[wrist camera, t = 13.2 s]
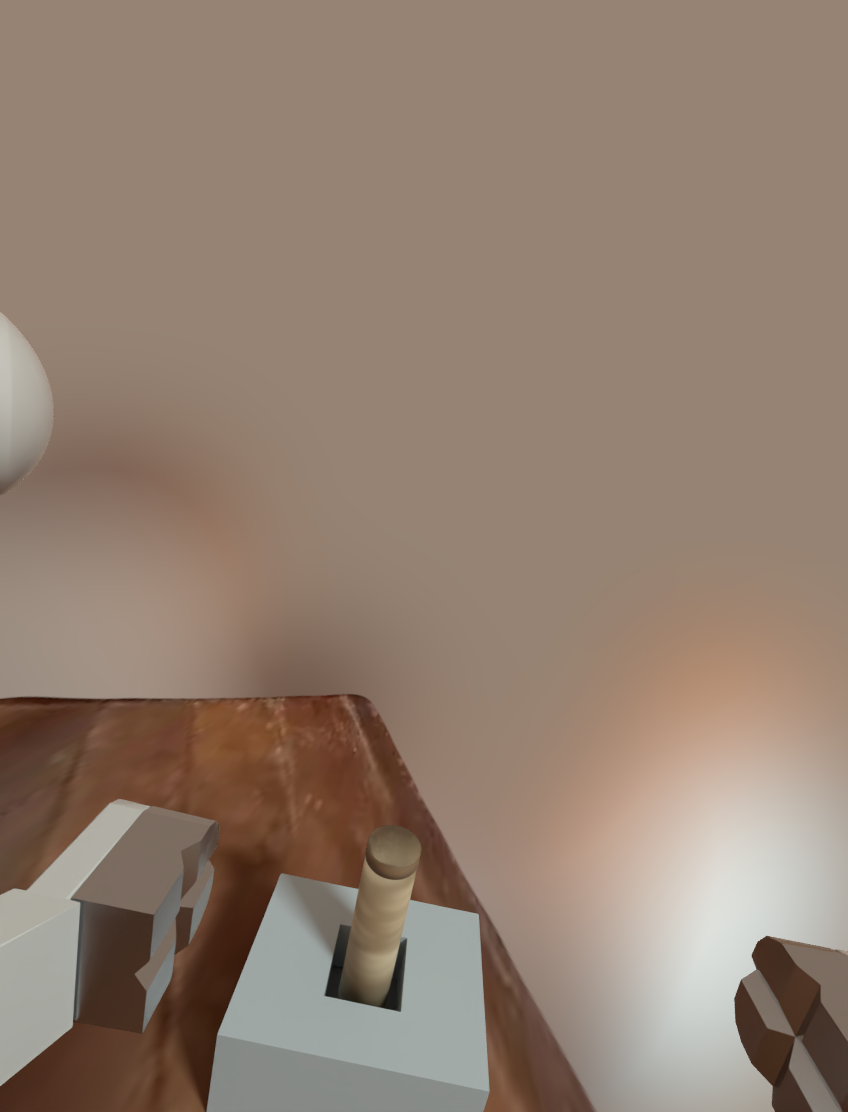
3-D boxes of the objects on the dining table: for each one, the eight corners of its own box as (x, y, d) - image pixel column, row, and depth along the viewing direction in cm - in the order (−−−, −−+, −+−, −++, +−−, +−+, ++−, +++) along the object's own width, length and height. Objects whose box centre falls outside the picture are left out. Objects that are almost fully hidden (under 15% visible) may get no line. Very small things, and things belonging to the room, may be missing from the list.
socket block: (206, 1113, 27) (217, 1034, 26) (270, 936, 37) (281, 873, 36) (466, 1168, 27) (489, 1091, 26) (462, 976, 37) (478, 914, 36)
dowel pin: (325, 1018, 31) (357, 850, 28) (351, 973, 33) (383, 817, 31) (369, 1048, 30) (407, 876, 27) (392, 999, 32) (429, 839, 30)
